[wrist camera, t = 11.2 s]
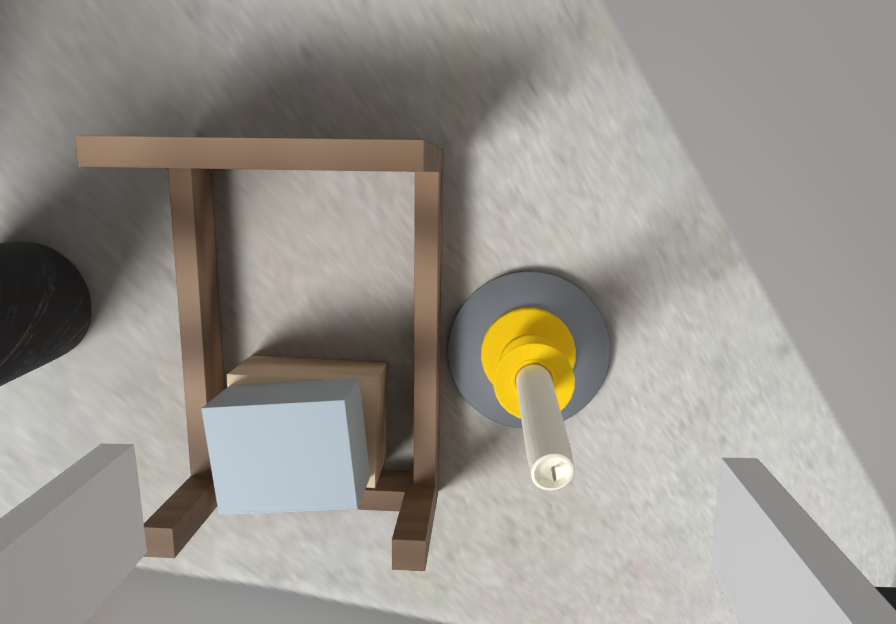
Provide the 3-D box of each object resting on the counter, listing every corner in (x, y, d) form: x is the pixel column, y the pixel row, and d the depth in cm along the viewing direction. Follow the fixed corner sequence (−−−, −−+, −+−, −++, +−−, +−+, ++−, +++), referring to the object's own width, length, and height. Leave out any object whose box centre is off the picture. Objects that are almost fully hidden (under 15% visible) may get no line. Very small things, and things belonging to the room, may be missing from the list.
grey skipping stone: (449, 269, 36) (449, 270, 36) (613, 273, 36) (615, 274, 35) (447, 421, 38) (446, 425, 38) (603, 427, 38) (604, 431, 37)
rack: (188, 145, 36) (75, 136, 26) (442, 149, 35) (423, 140, 25) (211, 481, 40) (120, 581, 30) (438, 491, 39) (420, 597, 29)
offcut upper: (229, 385, 35) (201, 408, 31) (359, 377, 34) (344, 400, 31) (245, 482, 36) (218, 514, 32) (370, 476, 35) (357, 509, 32)
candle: (593, 361, 36) (667, 497, 21) (517, 414, 37) (536, 580, 22) (538, 288, 36) (573, 372, 20) (462, 343, 37) (442, 463, 21)
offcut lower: (253, 353, 39) (226, 374, 35) (388, 360, 38) (376, 382, 34) (256, 448, 40) (230, 478, 36) (386, 456, 39) (374, 487, 35)
